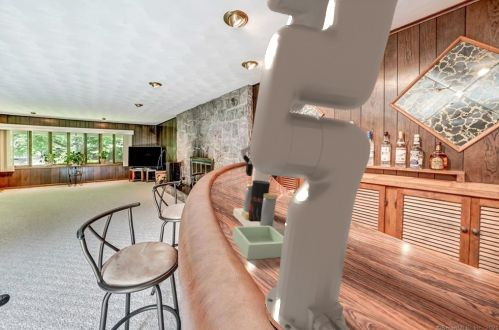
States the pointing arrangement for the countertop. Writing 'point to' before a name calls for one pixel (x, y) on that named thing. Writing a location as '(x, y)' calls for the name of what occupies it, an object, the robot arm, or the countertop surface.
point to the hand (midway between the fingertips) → (261, 176)
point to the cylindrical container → (259, 176)
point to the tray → (258, 241)
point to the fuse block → (266, 214)
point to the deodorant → (257, 199)
